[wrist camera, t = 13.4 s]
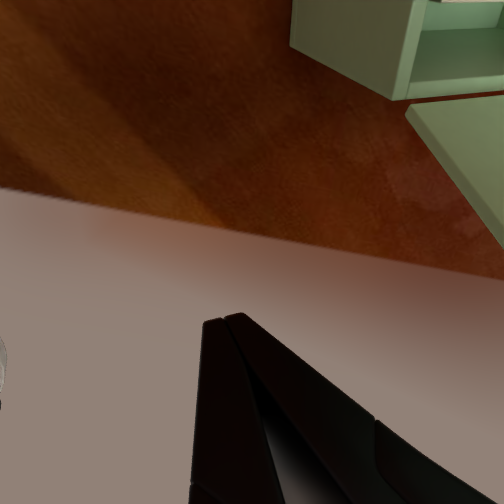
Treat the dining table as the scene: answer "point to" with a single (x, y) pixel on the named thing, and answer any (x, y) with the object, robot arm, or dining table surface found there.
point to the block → (465, 1)
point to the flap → (468, 150)
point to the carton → (405, 44)
